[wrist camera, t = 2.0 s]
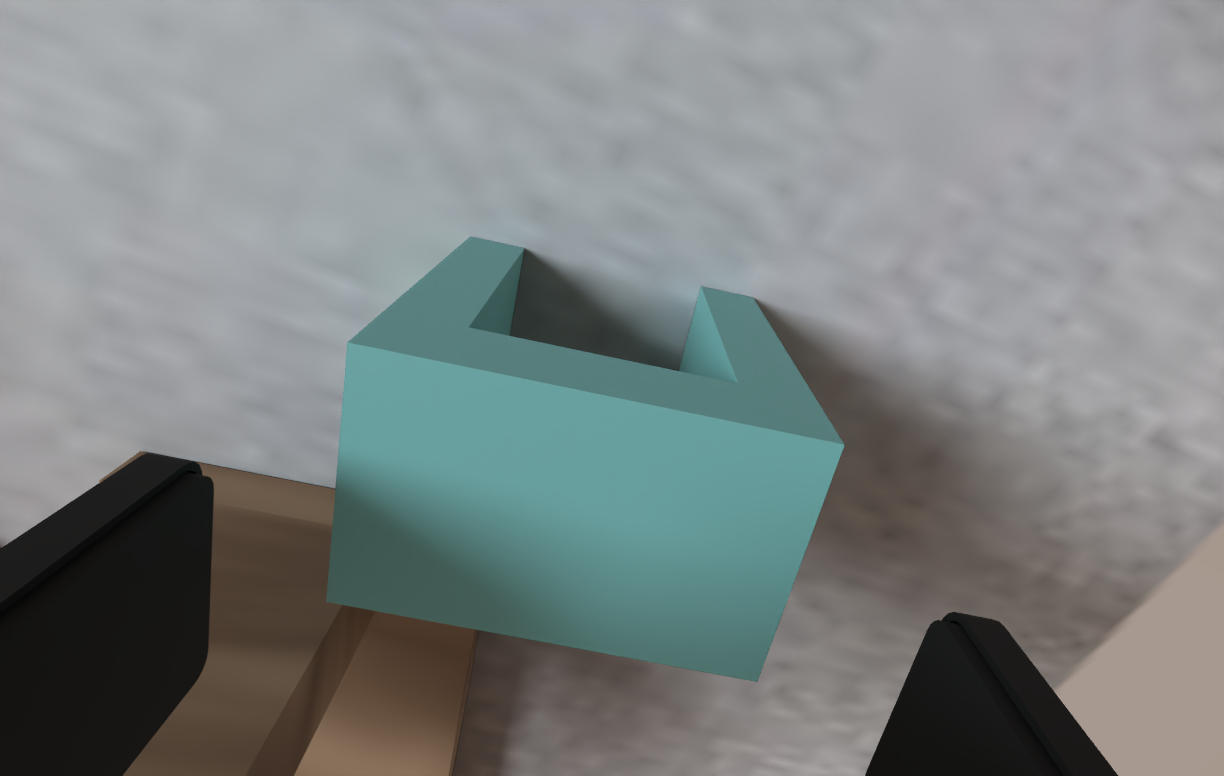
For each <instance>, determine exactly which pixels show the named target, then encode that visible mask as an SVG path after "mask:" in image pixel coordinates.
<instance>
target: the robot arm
mask: <svg viewBox="0 0 1224 776" xmlns="http://www.w3.org/2000/svg"><path fill="white" fill-rule="evenodd" d="M213 506H214V483H213V481H212V479H211V478H210V477H208V476H203V474H202V470H201V467H200V465H199V464H198V463H196V462H193V461H188V460H183V459H178V458H173V457H168V456H163V455H158V454H152V453H146V454H144V455H142V456H140V457H138V458H137V459H135V460H134V461H132V462H130V463H129V464H127V465H126V466H124V467H123V468H121V469H120V470H118V471H117V472H115V473H114V474H112V475H111V476H109V477H108V478H106V479H105V480H103V481H102V482H100V483H99V484H97V485H96V486H94V487H93V488H91V489H90V490H88V491H87V492H85V493H84V494H82V495H81V496H79V497H78V498H76V499H75V500H73V501H72V502H70V503H69V504H67V505H66V506H64V507H63V508H61V509H60V510H58V511H57V512H55V513H54V514H52V515H51V516H49V517H48V518H46V519H45V520H43V521H42V522H40V523H39V524H37V525H36V526H34V527H33V528H31V529H30V530H28V531H27V532H25V533H24V534H22V535H21V536H19V537H18V538H16V539H15V540H13V541H12V542H10V543H8V544H7V545H5V546H4V547H2V548H1V549H0V776H123V775H124V773H125V772H126V771H127V769H128V768H129V767H130V766H131V764H132V763H133V762H134V761H135V759H136V758H137V757H138V755H139V754H140V753H141V752H142V750H143V749H144V748H145V747H146V745H147V744H148V743H149V741H150V740H151V739H152V738H153V736H154V735H155V734H156V732H157V731H158V730H159V729H160V727H161V726H162V725H163V724H164V722H165V721H166V720H167V718H168V717H169V716H170V715H171V713H172V712H173V711H174V710H175V708H176V707H177V706H178V704H179V703H180V702H181V701H182V699H183V698H184V697H185V696H186V694H187V693H188V692H189V690H190V689H191V688H192V687H193V685H194V684H195V683H196V681H197V680H198V678H199V677H200V675H201V673H202V671H203V668H204V666H205V663H206V659H207V656H208V646H209V618H210V590H211V562H212V534H213ZM865 776H1118V775H1117V774H1116V772H1115V771H1114V770H1113V768H1112V767H1111V766H1110V764H1109V763H1108V762H1107V760H1106V759H1105V758H1104V757H1103V755H1102V754H1101V753H1100V751H1099V750H1098V749H1097V747H1096V746H1095V745H1094V743H1093V742H1092V741H1091V740H1090V738H1089V737H1088V736H1087V735H1086V733H1085V732H1084V730H1083V729H1082V728H1081V726H1080V725H1079V724H1078V723H1077V721H1076V720H1075V719H1074V717H1073V716H1072V715H1071V713H1070V712H1069V711H1068V709H1067V708H1066V707H1065V705H1064V704H1063V703H1062V701H1061V700H1060V699H1059V698H1058V696H1057V695H1056V694H1055V692H1054V691H1053V690H1052V688H1051V687H1050V686H1049V684H1048V683H1047V682H1046V681H1045V679H1044V678H1043V677H1042V675H1041V674H1040V673H1039V671H1038V670H1037V669H1036V667H1035V666H1034V665H1033V663H1032V662H1031V661H1030V660H1029V658H1028V657H1027V656H1026V654H1025V653H1024V652H1023V650H1022V649H1021V648H1020V646H1019V645H1018V644H1017V643H1016V641H1015V640H1014V639H1013V637H1012V636H1011V635H1010V633H1009V632H1008V631H1007V629H1006V628H1005V627H1004V626H1003V625H1002V624H1001V623H1000V622H999V621H996V620H993V619H988V618H983V617H978V616H973V615H967V614H962V613H957V612H952V613H948V614H947V615H946V616H945V617H944V618H943V620H942V621H940V620H937V621H934V622H933V623H932V624H931V625H930V626H929V628H928V630H927V632H926V634H925V637H924V639H923V641H922V644H921V646H920V648H919V651H918V653H917V655H916V658H915V660H914V662H913V665H912V667H911V669H910V672H909V674H908V676H907V679H906V681H905V683H904V686H903V688H902V690H901V693H900V695H899V697H898V699H897V702H896V704H895V706H894V709H893V711H892V713H891V716H890V718H889V720H888V723H887V725H886V727H885V730H884V732H883V734H882V737H881V739H880V741H879V744H878V746H877V748H876V751H875V753H874V755H873V758H872V760H871V762H870V765H869V767H868V769H867V772H866V775H865Z"/></svg>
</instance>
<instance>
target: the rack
mask: <svg viewBox="0 0 1224 776" xmlns="http://www.w3.org/2000/svg"><path fill="white" fill-rule="evenodd" d="M144 454H146V452H141V451H140V452H139V453H137V454H136V455H135V456H133V457H132V458H130V459H129V460H128V461H126V462H125V463H123V464H122V465H121V466H119V467H118V468H117V469H115V470H114V471H112V472H111V473H110V474H108V475H107V476H105V477H104V478H103V479H101V480H100V482H102V481H103V480H105V479H106V478H108V477H109V476H111V475H112V474H114V473H115V472H117V471H118V470H120V469H121V468H123V467H124V466H126V465H127V464H129V463H130V462H132V461H134V460H135V459H137V458H138V457H140V456H142V455H144ZM196 463H198V462H196ZM198 464H199V465H200V467H201V470H202V474H203V476H208V477H210V478H211V479H212V481H213V483H214V506H213V534H212V562H211V590H210V618H209V646H208V656H207V659H206V663H205V666H204V668H203V671H202V673H201V675H200V677H199V678H198V680H197V681H196V683H195V684H194V685H193V687H192V688H191V689H190V690H189V692H188V693H187V694H186V696H185V697H184V698H183V699H182V701H181V702H180V703H179V704H178V706H177V707H176V708H175V710H174V711H173V712H172V713H171V715H170V716H169V717H168V718H167V720H166V721H165V722H164V724H163V725H162V726H161V727H160V729H159V730H158V731H157V732H156V734H155V735H154V736H153V738H152V739H151V740H150V741H149V743H148V744H147V745H146V747H145V748H144V749H143V750H142V752H141V753H140V754H139V755H138V757H137V758H136V759H135V761H134V762H133V763H132V764H131V766H130V767H129V768H128V769H127V771H126V772H125V773H124V775H123V776H452V775H453V770H454V764H455V759H456V753H457V747H458V742H459V736H460V731H461V725H462V720H463V714H464V709H465V703H466V698H467V692H468V686H469V681H470V675H471V670H472V664H473V659H474V653H475V648H476V642H477V637H478V631H479V630H475V629H470V628H464V627H459V626H454V625H448V624H443V623H437V622H432V621H427V620H421V619H416V618H410V617H405V616H400V615H394V614H389V613H384V612H378V611H373V610H367V609H362V608H357V607H351V606H346V605H340V604H335V603H330V602H326V598H327V586H328V574H329V561H330V549H331V537H332V525H333V513H334V501H335V489H331V488H326V487H321V486H316V485H311V484H306V483H301V482H295V481H290V480H285V479H280V478H275V477H270V476H265V475H259V474H254V473H249V472H244V471H239V470H234V469H229V468H223V467H218V466H213V465H208V464H203V463H198Z"/></svg>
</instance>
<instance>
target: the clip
mask: <svg viewBox="0 0 1224 776" xmlns="http://www.w3.org/2000/svg"><path fill="white" fill-rule="evenodd" d="M523 254H524V248H521V247H517V246H512V245H507V244H503V243H498V242H493V241H489V240H484V239H480V238H475V237H469V238H468V239H467V240H466V241H465V242H464V243H462V244H461V245H460V246H459V247H458V248H457V249H455V250H454V251H453V252H452V253H451V254H450V255H448V256H447V257H446V258H445V259H444V260H443V261H442V262H440V263H439V264H438V265H437V266H436V267H435V268H433V269H432V270H431V271H430V272H429V273H428V274H426V275H425V276H424V277H423V278H422V279H421V280H419V281H418V282H417V283H416V284H415V285H414V286H412V287H411V288H410V289H409V290H408V291H407V292H406V293H404V294H403V295H402V296H401V297H400V298H399V299H397V300H396V301H395V302H394V303H393V304H392V305H390V306H389V307H388V308H387V309H386V310H385V311H383V312H382V313H381V314H380V315H379V316H378V317H377V318H375V319H374V320H373V321H372V322H371V323H370V324H368V325H367V326H366V327H365V328H364V329H363V330H361V331H360V332H359V333H358V334H357V335H356V336H354V337H353V338H352V339H351V340H350V341H349V342H348V343H347V356H346V368H345V380H344V392H343V404H342V416H341V428H340V440H339V452H338V465H337V477H336V489H335V501H334V513H333V525H332V537H331V549H330V561H329V574H328V586H327V598H326V602H330V603H335V604H340V605H346V606H351V607H357V608H362V609H367V610H373V611H378V612H384V613H389V614H394V615H400V616H405V617H410V618H416V619H421V620H427V621H432V622H437V623H443V624H448V625H454V626H459V627H464V628H470V629H475V630H481V631H486V632H491V633H497V634H502V635H507V636H513V637H518V638H524V639H529V640H534V641H540V642H545V643H551V644H556V645H561V646H567V647H572V648H578V649H583V650H588V651H594V652H599V653H605V654H610V655H615V656H621V657H626V658H631V659H637V660H642V661H648V662H653V663H658V664H664V665H669V666H675V667H680V668H685V669H691V670H696V671H702V672H707V673H712V674H718V675H723V676H728V677H734V678H739V679H745V680H750V681H755V682H757V681H758V679H759V676H760V673H761V670H762V668H763V665H764V662H765V660H766V657H767V654H768V651H769V649H770V646H771V643H772V641H773V638H774V635H775V632H776V630H777V627H778V624H779V622H780V619H781V616H782V613H783V611H784V608H785V605H786V603H787V600H788V597H789V594H790V592H791V589H792V586H793V584H794V581H795V578H796V575H797V573H798V570H799V567H800V565H801V562H802V559H803V557H804V554H805V551H806V548H807V546H808V543H809V540H810V538H811V535H812V532H813V529H814V527H815V524H816V521H817V519H818V516H819V513H820V510H821V508H822V505H823V502H824V500H825V497H826V494H827V491H828V489H829V486H830V483H831V481H832V478H833V475H834V472H835V470H836V467H837V464H838V462H839V459H840V456H841V453H842V451H843V448H844V445H845V444H844V443H843V441H842V440H841V438H840V436H839V435H838V433H837V432H836V430H835V428H834V427H833V425H832V424H831V422H830V420H829V419H828V417H827V416H826V414H825V412H824V411H823V409H822V408H821V406H820V404H819V403H818V401H817V399H816V398H815V396H814V395H813V393H812V391H811V390H810V388H809V387H808V385H807V383H806V382H805V380H804V379H803V377H802V375H801V374H800V372H799V371H798V369H797V367H796V366H795V364H794V363H793V361H792V359H791V358H790V356H789V355H788V353H787V351H786V350H785V348H784V347H783V345H782V343H781V342H780V340H779V338H778V337H777V335H776V334H775V332H774V330H773V329H772V327H771V326H770V324H769V322H768V321H767V319H766V318H765V316H764V314H763V313H762V311H761V310H760V308H759V306H758V305H757V303H756V302H755V300H754V298H753V297H748V296H743V295H739V294H734V293H730V292H725V291H720V290H716V289H711V288H706V287H702V286H701V288H700V292H699V296H698V300H697V303H696V307H695V311H694V315H693V319H692V322H691V326H690V330H689V334H688V338H687V341H686V345H685V349H684V353H683V356H682V360H681V364H680V368H679V371H675V370H670V369H666V368H661V367H656V366H651V365H647V364H642V363H637V362H632V361H627V360H623V359H618V358H613V357H608V356H603V355H599V354H594V353H589V352H584V351H580V350H575V349H570V348H565V347H560V346H556V345H551V344H546V343H541V342H536V341H532V340H527V339H522V338H517V337H513V336H510V331H511V325H512V319H513V313H514V307H515V301H516V295H517V289H518V283H519V277H520V271H521V266H522V260H523Z"/></svg>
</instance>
